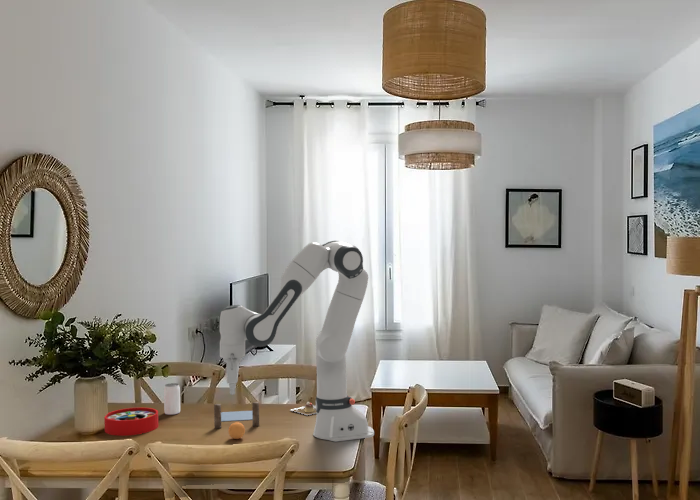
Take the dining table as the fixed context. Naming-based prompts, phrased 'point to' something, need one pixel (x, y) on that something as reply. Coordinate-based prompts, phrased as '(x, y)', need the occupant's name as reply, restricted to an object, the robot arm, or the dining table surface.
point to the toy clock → (131, 421)
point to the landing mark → (236, 416)
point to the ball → (236, 430)
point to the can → (172, 399)
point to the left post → (217, 416)
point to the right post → (255, 413)
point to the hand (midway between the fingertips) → (232, 391)
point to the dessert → (306, 408)
